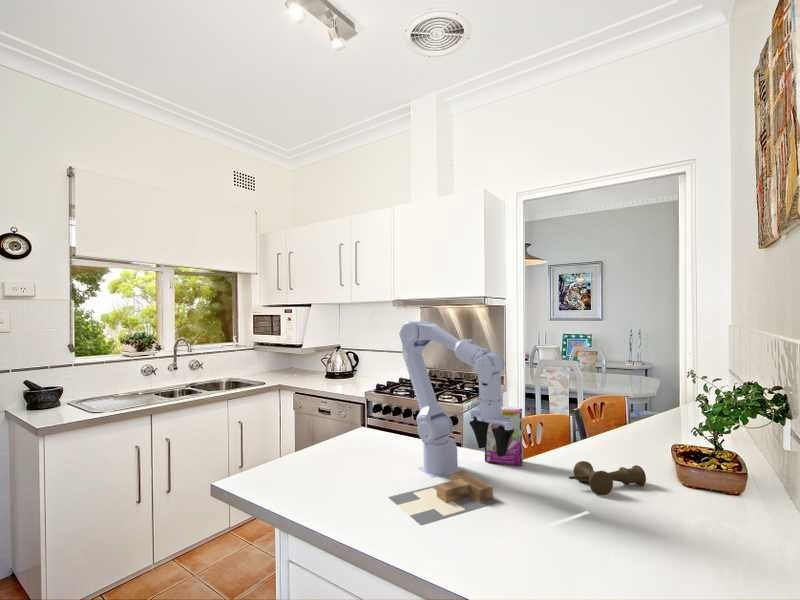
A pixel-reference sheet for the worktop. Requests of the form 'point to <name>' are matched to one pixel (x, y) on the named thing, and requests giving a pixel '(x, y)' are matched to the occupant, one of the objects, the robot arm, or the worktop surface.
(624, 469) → the kendama
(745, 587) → the worktop surface
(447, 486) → the t block
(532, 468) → the worktop surface
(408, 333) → the robot arm
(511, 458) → the candy bar box
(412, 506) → the mat
